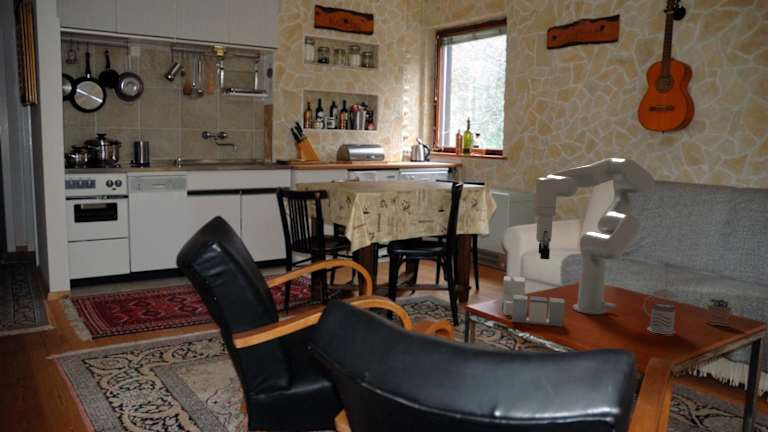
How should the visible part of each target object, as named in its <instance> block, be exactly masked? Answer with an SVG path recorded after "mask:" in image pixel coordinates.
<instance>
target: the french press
mask: <svg viewBox="0 0 768 432" xmlns="http://www.w3.org/2000/svg"><path fill="white" fill-rule="evenodd" d="M671 266H672V265H671V263H669V262H667V263H665V264H664V267H666V272H668V271H669V268H670V267H671ZM667 281H668V274H666V276H665V283H668V282H667ZM652 294H653V295H650V296H648V297H646V298H645V300H644V301H643V311H644V313H645V314H646V315H648V317H649V326H648V327H647V328H646V330H647V329H648V330H649V331H651V332H650V333H652V332H654V333H653V334H655V333H661V334H672V333H675V332H676V331H675V329H674V325H675V315H676V310H675V305H674V304H671V303H667V302H665V301H666V298H667V299H675V298H677V297H678V294H676V292H674V291H672V290H670V289H667V284H665V286H664V289H660V288H659V289H657V290H655V291H652ZM654 296H657V297H661V298H663V302H658V301H657V302H653V303H652V305H653V306H652V308H651V313H649V312H648V310H647V309H646V302H647V300H648V299H650V298H651V299H652V301H653V300H654V298H655V297H654ZM648 330H647V331H648ZM649 331H648V332H649Z"/></svg>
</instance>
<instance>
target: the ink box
mask: <svg viewBox="0 0 768 432" xmlns="http://www.w3.org/2000/svg"><path fill="white" fill-rule="evenodd" d="M525 286H526V277H520V276H515V275H514V274H513V273H512V272H510V275H509V276H507V275H505V276H504V277H503V285H502V305H501V309H502V310H503V308H504V300H513V297H514V295H524V296H525V291H526V290H525Z"/></svg>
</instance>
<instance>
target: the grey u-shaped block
mask: <svg viewBox="0 0 768 432" xmlns="http://www.w3.org/2000/svg"><path fill="white" fill-rule="evenodd" d="M528 298H529V297H528V295H525V294H524V295H514V297H513V312H512V316H511V322H513V323H520V324H521V323H523V324H532V325H541V326H542V325H543V326H552V327H560V328H561V327H563V326H564V319H565V318H564V315H565V299H564V298H557V297H556V298H555V297H549V301H548V303H549V304H548V312H547V313H548V314H547V315H548V317H547V318H546V323H542V322H532V321H529V317H528V316H527V314H528V313H527V312H528V311H527V310H528V302H529V301H528Z"/></svg>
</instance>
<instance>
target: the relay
mask: <svg viewBox="0 0 768 432" xmlns="http://www.w3.org/2000/svg"><path fill="white" fill-rule="evenodd" d="M502 310H503V311H502V312H503V315H510V316H509V317H512V312H513V300H504V308H503V309H502Z"/></svg>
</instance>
